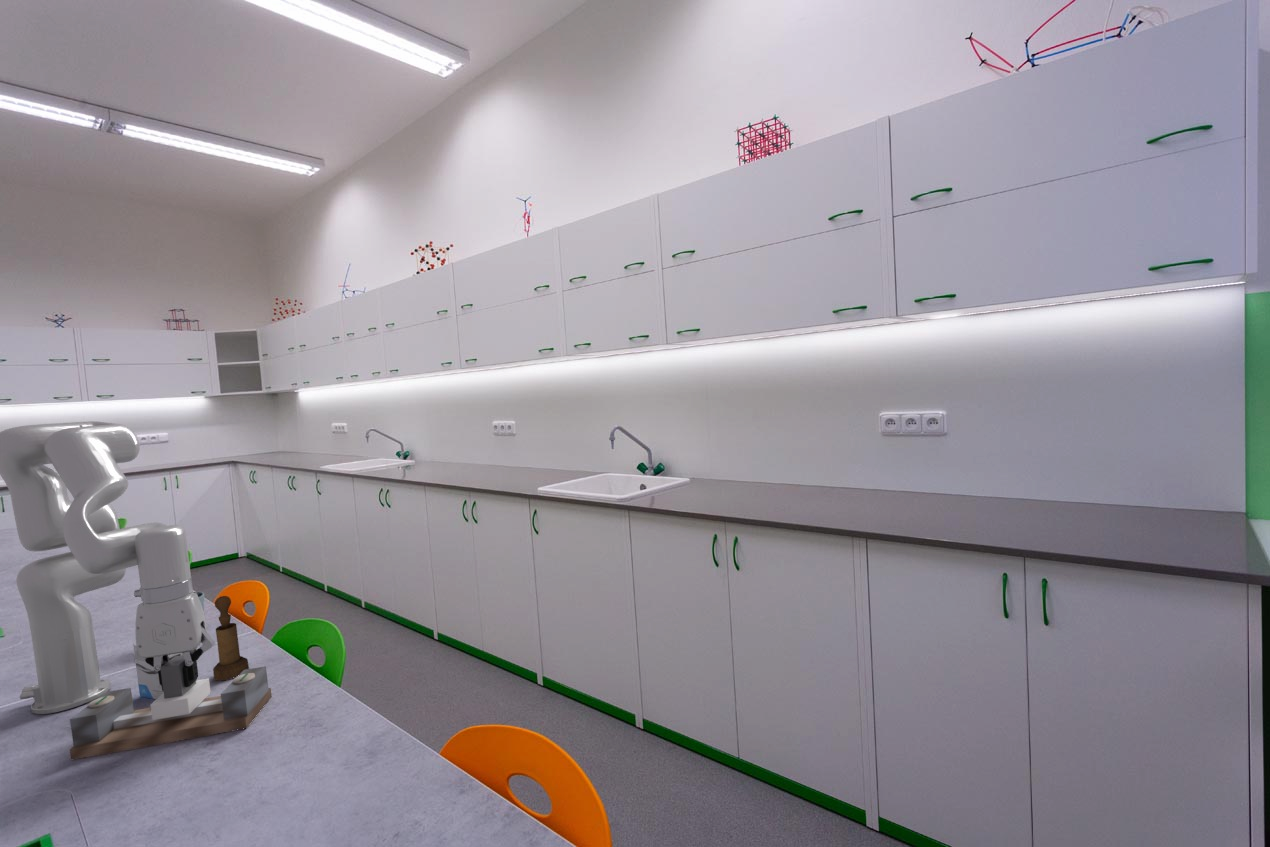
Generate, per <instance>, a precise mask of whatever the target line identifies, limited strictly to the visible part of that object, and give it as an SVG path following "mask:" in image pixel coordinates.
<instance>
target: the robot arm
mask: <svg viewBox="0 0 1270 847" xmlns="http://www.w3.org/2000/svg"><path fill="white" fill-rule="evenodd" d="M140 446H141V445H140V441H139V438H138V436H137V434H136V433H135V432H134V431H133V430H132V429H131V428H129V427H128V426H126V425H123V424H120V423H112V422H104V421H96V420H95V421H93V420H91V421H73V422H62V423H61V422H60V423H43V424H42V423H40V424H29V425H21V426H14V427H11V428H7V429H4V430H2V431H0V477H1V479H3V482H4V483H5V485H6V487H7V489H8V491H9V494H10V499H11V505H12V509H13V510H12V511H13V515H14V521H15V525H16V530H17V531H16V532H17V535H18V538H19V540H20V541H19V542H20V544H21V545H22V547H23V548H24V549H25V550H26V551H29V552H35V553H36V552H38V553H39V552H46V551H53V550H57V549H61V548H66V547H68V549H69V551H68V552H64V553H59V554H55V555H52V556H47V557H42V558H39V559H37V560H34V561H31V562H30V563H27V565H26V564H25V565H24V566H23V567H22V568H21V569H20V570H19V572H18V573H17V576H16V587H17V590H18V593H19V595H20V597H21V599H22V602H23V604H24V607H25V611H26V614H27V618H28V624H29V629H30V636H31V642H32V650H33V656H34V663H35V670H36V677H37V683H38V684H32V685H26V686H24V687H23V688H22V689H21V693H20V695H19V700H27V699H30V698H31V699H32V698H33V700H34V702H32V704H31V705H30V709H31V713H33V714H36V715H47V714H53V713H58V712H62V711H67V710H70V709H74V708H76V707H79V706H82V705H85V704H88V703H90V702H92V701H94V700H96V699H98V698H99V697H101V696H102V695H103V694H105V693H106V692H108V691H109V690H110V691H111V688H112V684H111V681H110V680H108V679H101V674H100V673H101V672H100V666H99V665H100V664H99V659H98V658H99V657H98V652H97V651H98V650H97V644H96V639H95V630H94V623H93V616H92V613H91V611H90V610H89V608H88V607H87V606H85V605H84V604H82V603H80V602H78V601H77V600H76V599H75V597H76V596H80V595H83V594H85V593H89V592H93V591H96V590H99V589H103V588H106V587H110V586H113V585H115V584H118V583H119V582H121V580H123V578H124V577H125V575H126V572H127V569H128V568H132V567H135V566H137V570H138V578H139V585H140V587H139V589H135V590H134V591H133V596H134V598H138V597H139V598H140V600H141V603H139V604H138V605H137V606H136V607H137V609H136V614H135V615H136V616H135V617H136V618H135V643H136V649H137V651H136V653H135V654H134V655H133V659H134V660H135V659H136V660H140V661H143V662H144V661H145V662H146V663H148V664H149V665H151V666H152V667H154V670H155V671H158V675H159V683H160V685H161V686H162V691H163V684H162V677H161V669H160V668H161V667H162V666H163V665H165V664H166V663H167V662H168V661H169V655H170V654H176V653H182V654H183V658H184V662H185V666H184V667H183V677H184V685H185V687H190V686H191V685H192V684H193V683H194V682H195V681H196V680H198V678H199V669H198V663H197V662H198V660H199V659H200V657H201V656H202V655H203V654H204V653H206V652H207V651H208V650H211V649H212V647H215V645H216V641H215V640H214V639H213V638H212V636H211V635H210V634H209V633H208V626H207V620H206V616H205V610H204V611H203V608H202V605H201V602H200V600H199V597H198V595H197V593H193V592H194V591H193V581H192V580H193V579H192V574H191V566H190V558H189V557H190V556H189V550H188V544H187V543H188V542H187V535H186V530H185V529H184V527H182V526H181V525H175V524H174V525H173V524H172V525H166V524H164V523H162V522H161V523H160V522H149V523H144V524H139V525H134V526H129V527H123V528H120V522H119V518H118V515H117V513H116V512H117V511H116V510H115V509H114V507H113V506H112V504H111V503H112V502H114V501H116V500H117V499H119V498H120V497H121V496H122V495H123V494H124V493H125V492H126V491H127V489H128V487H129V481H128V480H129V479H128V478H127V476H126V475H125V474H124V472H123V471H122V470H121V468H120V466H119V465H118V464H123V463H129V462H132V461H133V460H135V459H136V458H137V457H138V455H139V454H140V449H141V448H140ZM47 465H52V466H53V468H54V469H55V471H56V472H55V471H54V470H53V469H51V468H50V467H48V466H47ZM68 491H69V493H70V494H71V496H72V498H73V501H71V500H70V499H69V498H70V497H69V495H68ZM201 643H202V645H201V646H200V644H201Z"/></svg>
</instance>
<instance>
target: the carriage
mask: <svg viewBox="0 0 1270 847" xmlns="http://www.w3.org/2000/svg"><path fill="white" fill-rule="evenodd" d="M184 666H185V662H184V658H183V655H180V656H175V657H174V658H172V659H171V660H170V661H168V662H167V663H166V664H165V665H163V666H162V667H161V668H160V669H161V677H162V684H163V692H164V693H163V694H162V695H161V696H160V697H159V698H157V699H154V701H153V702H151V703H150V708H151V712H152V719H153V720H157V719H163V718H168V717H174V716H180V715H186V714H190V713H191V712H192V711H193V710H194V709H195V708H196V707H197V706H198V705H199V704H200V703H201V702H202V701H203V700H204V699H205V698H208V696H209V695H210V694H211V685H210V679H209V678H203V679H197V680H196V681H195V682H194V683H193V684H192V685H191V686H190V687H185V685H184V677H183V667H184Z"/></svg>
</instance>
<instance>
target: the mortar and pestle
mask: <svg viewBox="0 0 1270 847" xmlns="http://www.w3.org/2000/svg"><path fill="white" fill-rule="evenodd" d="M231 604H232V600H231V597H229V596H228V595H222V596H219V597H217V598H216V600H215V601H214V607H215V609H217V610H218V612H219V617H218V621H219V623H220V625H218V626H217V627H216V628H215V635H216V642H217V650H218V658H219V659H218V661H219V662H218V663H217V664H216V665H215V666H213V669H212V671H213V679H214V680H215V681H218V680H219V682H221V681H220V680H223V681H227V680H226V679H229V680H231V679H230V678H232V679H234V678H233V677H235V678H236V676H238V675H240V674H241V672H242V671H243V670H246V669H250V667H249V660H248V658H247V657H244V656H242V655H241V653H240V652H241V651H240V644H239V635H238V627H237V623H234V622H231V619H232V618H231V617H232V615H231V614H229V609H230V607H231Z"/></svg>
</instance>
